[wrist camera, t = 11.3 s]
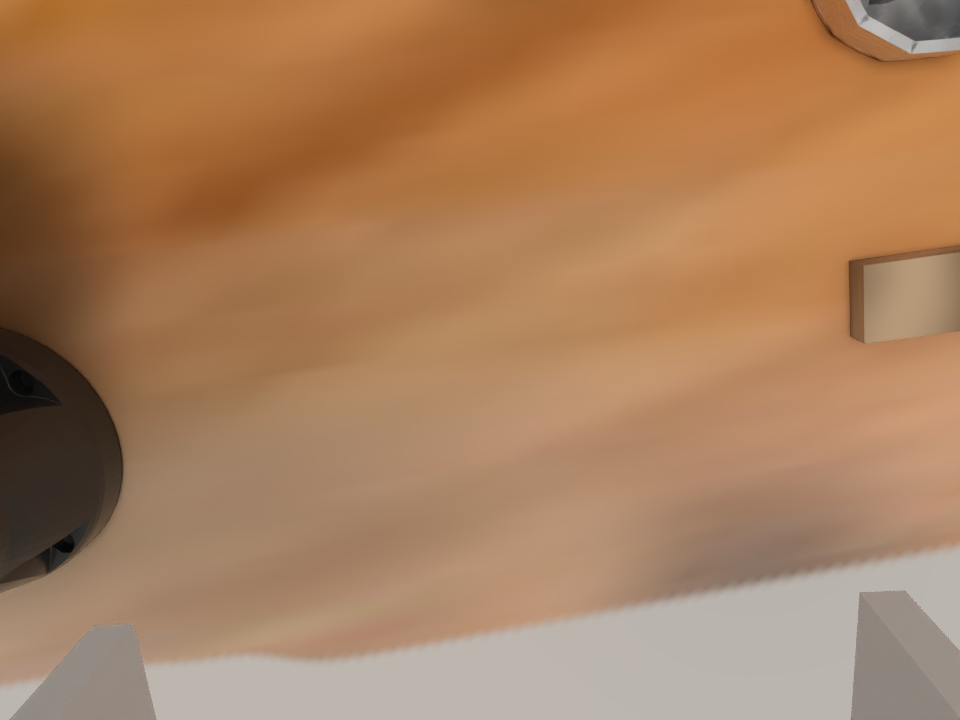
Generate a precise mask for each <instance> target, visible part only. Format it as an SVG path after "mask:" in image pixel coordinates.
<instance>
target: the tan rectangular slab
mask: <svg viewBox="0 0 960 720" xmlns="http://www.w3.org/2000/svg"><path fill="white" fill-rule="evenodd" d="M849 288H850V336H851V337H853V338H855V339H857V340H858V341H860V342H862V343H864V344H866V343H874V342H881V341H889V340H896V339H904V338H911V337H919V336H926V335H934V334H942V333H949V332H957V331H960V246H953V247H946V248H939V249H932V250H925V251H918V252H911V253H904V254H897V255H890V256H883V257H876V258H868V259H861V260H854V261H849Z"/></svg>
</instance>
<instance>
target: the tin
mask: <svg viewBox="0 0 960 720" xmlns="http://www.w3.org/2000/svg"><path fill="white" fill-rule="evenodd" d="M811 1H812V3H813V5H814V8H815V10H816V12H817V14H818V15H819V17H820V18H821V20H822V22H823V23H824V24H825V26H826V27H827V28H828V29H829V30H830V32H831V33H832V34H833V35H834V36H835V37H837V38H838V39H839V40H840V41H841V42H842V43H844V44H845V45H847V46H849V47H850V48H852V49H853V50H855V51H858V52H860V53H862V54H864V55H867V56H871V57H874V58H878V59H880V60H882V61H893V60H912V59H918V58H928V57H940V56H946V55H950V54H954V53H959V52H960V0H811Z"/></svg>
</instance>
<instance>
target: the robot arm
mask: <svg viewBox="0 0 960 720" xmlns="http://www.w3.org/2000/svg"><path fill="white" fill-rule="evenodd" d="M121 475H122V465H121V454H120V448H119V443H118V439H117V436H116V433H115V430H114V427H113V424H112V422H111V420H110V417H109V415H108V413H107V411H106V409H105V407H104V406H103V404H102V402H101V401H100V399H99V398H98V396H97V395H96V393H95V392H94V390H93V389H92V388H91V387H90V385H89V384H88V383H87V382H86V381H85V379H84V378H83V377H82V376H81V375H80V374H79V373H78V372H77V371H76V370H75V369H74V368H73V367H72V366H71V365H69V364H68V363H67V362H66V361H65V360H64V359H62V358H61V357H60V356H58V355H57V354H56V353H54V352H53V351H51V350H50V349H48V348H46V347H45V346H43V345H41V344H39V343H38V342H36V341H34V340H32V339H30V338H28V337H25V336H23V335H20V334H18V333H15V332H12V331H9V330H5V329H2V328H0V593H2V592H4V591H7V590H10V589H12V588H15V587H18V586H20V585H23V584H26V583H28V582H31V581H34V580H36V579H39V578H41V577H44V576H46V575H48V574H50V573H51V572H53V571H55V570H56V569H58V568H60V567H61V566H63V565H64V564H66V563H67V562H68V561H70V560H71V559H72V558H73V557H74V556H75V555H76V554H77V553H79V552H80V551H81V550H82V549H83V548H84V547H85V546H86V545H87V544H89V543H90V542H91V541H92V540H93V539H94V538H95V537H96V536H97V535H98V534H99V533H100V531H101V530H102V529H103V528H104V526H105V525H106V523H107V522H108V520H109V518H110V516H111V514H112V512H113V510H114V508H115V505H116V502H117V499H118V496H119V491H120V485H121ZM10 720H156V716H155V712H154V708H153V704H152V700H151V695H150V691H149V687H148V682H147V678H146V674H145V670H144V666H143V661H142V657H141V653H140V649H139V644H138V640H137V636H136V632H135V627H134V624H116V625H94V626H93V627H92V628H91V629H90V630H89V631H88V633H87V634H86V635H85V636H84V637H83V638H82V639H81V640H80V642H79V643H78V644H77V645H76V646H75V647H74V648H73V649H72V651H71V652H70V653H69V654H68V655H67V656H66V657H65V658H64V659H63V661H62V662H61V663H60V664H59V665H58V666H57V667H56V668H55V670H54V671H53V672H52V673H51V674H50V675H49V676H48V677H47V678H46V680H45V681H44V682H43V683H42V684H41V685H40V686H39V687H38V689H37V690H36V691H35V692H34V693H33V694H32V695H31V696H30V697H29V699H28V700H27V701H26V702H25V703H24V704H23V705H22V707H21V708H20V709H19V710H18V711H17V712H16V713H15V714H14V715H13V717H12V718H11V719H10ZM851 720H960V651H959V649H958V648H957V647H956V646H955V645H954V644H953V643H952V642H951V641H950V640H949V638H947V636H946V635H945V634H944V633H943V632H942V631H941V630H940V629H939V627H938V626H937V625H936V624H935V623H934V622H933V621H932V620H931V619H930V618H929V616H928V615H927V614H926V613H925V612H924V611H923V610H922V609H921V608H920V607H919V606H918V605H917V603H916V602H915V601H914V600H913V599H912V598H911V597H910V596H909V595H908V593H907V592H906V591H884V592H862V593H860V597H859V610H858V625H857V639H856V653H855V668H854V682H853V698H852V711H851Z"/></svg>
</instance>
